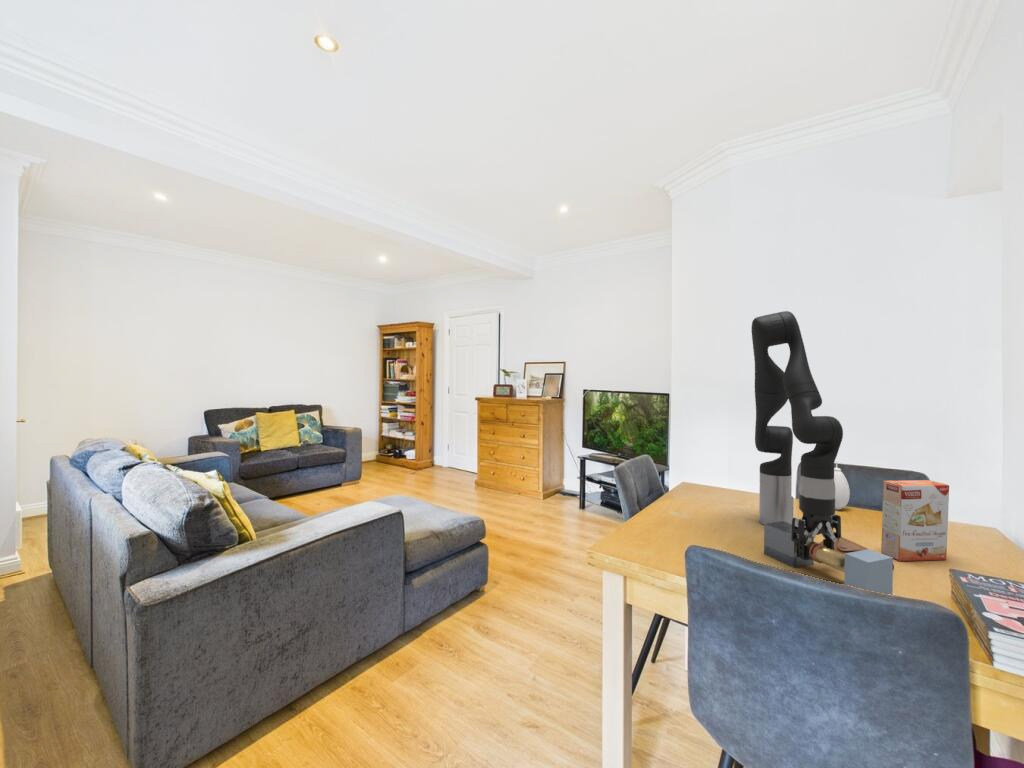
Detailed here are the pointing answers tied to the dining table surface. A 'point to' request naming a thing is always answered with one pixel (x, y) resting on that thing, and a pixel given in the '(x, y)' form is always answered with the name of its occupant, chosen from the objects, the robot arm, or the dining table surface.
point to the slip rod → (825, 556)
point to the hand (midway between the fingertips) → (816, 556)
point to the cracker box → (915, 520)
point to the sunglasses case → (846, 546)
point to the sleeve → (782, 544)
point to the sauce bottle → (840, 489)
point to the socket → (869, 571)
